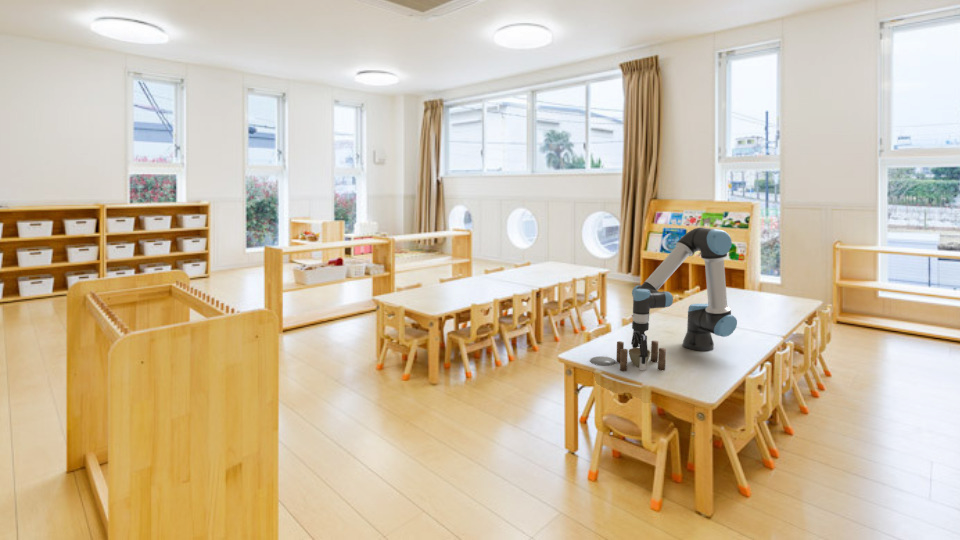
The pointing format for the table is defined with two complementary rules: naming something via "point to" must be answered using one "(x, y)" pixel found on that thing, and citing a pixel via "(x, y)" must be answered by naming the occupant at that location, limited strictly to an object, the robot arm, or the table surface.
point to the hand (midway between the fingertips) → (638, 364)
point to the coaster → (603, 361)
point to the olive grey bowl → (636, 356)
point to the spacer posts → (661, 358)
